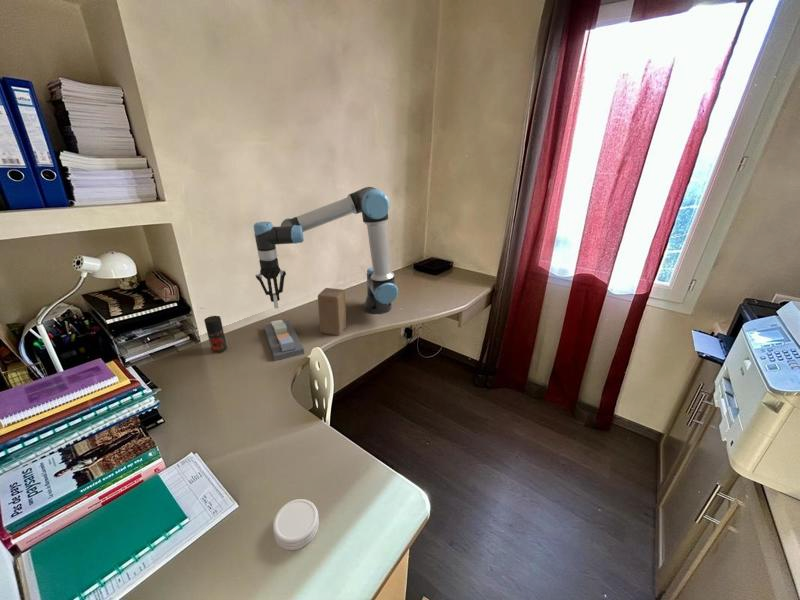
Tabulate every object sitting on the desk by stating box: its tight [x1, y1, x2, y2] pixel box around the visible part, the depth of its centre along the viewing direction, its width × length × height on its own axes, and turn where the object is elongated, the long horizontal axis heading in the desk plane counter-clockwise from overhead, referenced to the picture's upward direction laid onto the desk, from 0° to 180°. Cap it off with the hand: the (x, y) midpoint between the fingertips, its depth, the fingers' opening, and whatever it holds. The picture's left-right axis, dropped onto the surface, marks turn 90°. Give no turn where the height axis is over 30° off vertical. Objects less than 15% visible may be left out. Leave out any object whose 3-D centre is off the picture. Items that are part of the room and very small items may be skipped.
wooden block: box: [317, 287, 347, 336], centre depth 159 cm, size 10×10×20 cm
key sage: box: [273, 322, 287, 337], centre depth 154 cm, size 5×5×4 cm
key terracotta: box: [276, 333, 290, 344], centre depth 149 cm, size 5×5×4 cm
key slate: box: [279, 336, 294, 352], centre depth 142 cm, size 5×5×4 cm
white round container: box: [272, 498, 320, 551], centre depth 78 cm, size 10×10×4 cm
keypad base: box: [263, 319, 305, 361], centre depth 152 cm, size 12×29×2 cm, turn 28°
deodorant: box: [204, 315, 228, 354], centre depth 141 cm, size 6×6×15 cm
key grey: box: [270, 319, 284, 330], centre depth 160 cm, size 5×5×4 cm
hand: (276, 307), depth 156 cm, fingers closed
